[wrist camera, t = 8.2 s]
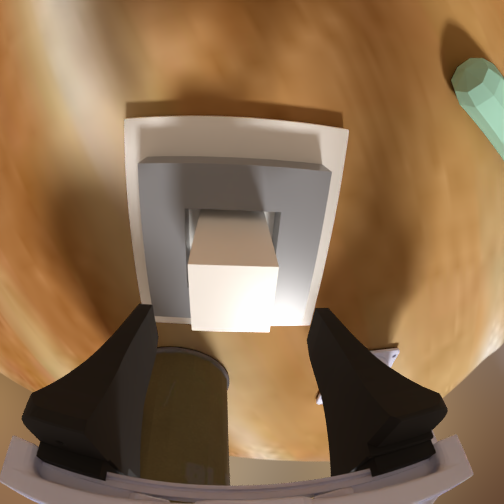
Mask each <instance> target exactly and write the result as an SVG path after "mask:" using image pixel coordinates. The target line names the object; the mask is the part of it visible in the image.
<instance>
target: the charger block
mask: <svg viewBox="0 0 504 504" xmlns="http://www.w3.org/2000/svg"><path fill="white" fill-rule="evenodd" d="M278 271H279V265H278V261H277V257H276V254H275V250H274V246H273V243H272V239H271V235H270V232H269V228H268V224H267V221H266V217H265V213H264V211H242V210H214V209H201V211H200V215H199V219H198V223H197V227H196V231H195V235H194V239H193V243H192V248H191V252H190V256H189V261H188V281H189V298H190V313H191V326H192V330H194V331H222V332H269V331H270V324H271V318H272V311H273V305H274V298H275V291H276V285H277V278H278Z"/></svg>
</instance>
